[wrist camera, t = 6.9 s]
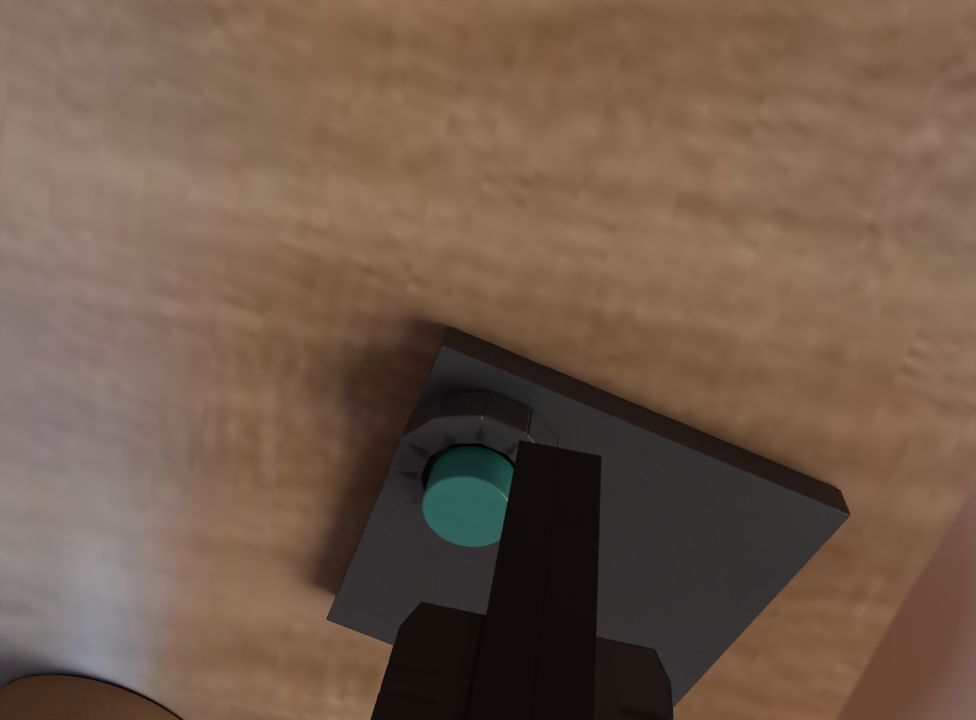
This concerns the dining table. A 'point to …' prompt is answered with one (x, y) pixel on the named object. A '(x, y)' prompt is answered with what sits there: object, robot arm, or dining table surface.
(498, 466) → the button
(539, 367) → the scale
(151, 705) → the vase
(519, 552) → the robot arm
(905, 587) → the dining table surface
